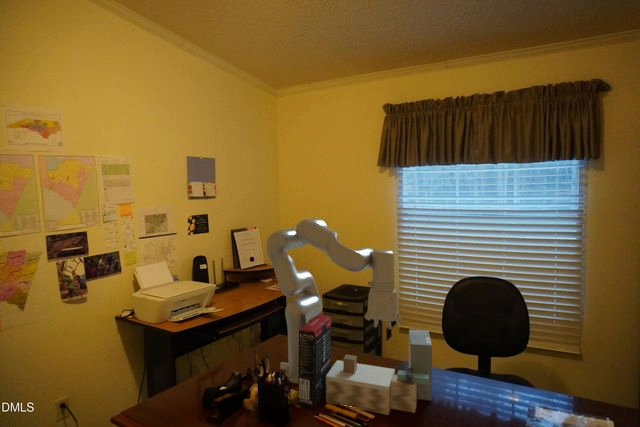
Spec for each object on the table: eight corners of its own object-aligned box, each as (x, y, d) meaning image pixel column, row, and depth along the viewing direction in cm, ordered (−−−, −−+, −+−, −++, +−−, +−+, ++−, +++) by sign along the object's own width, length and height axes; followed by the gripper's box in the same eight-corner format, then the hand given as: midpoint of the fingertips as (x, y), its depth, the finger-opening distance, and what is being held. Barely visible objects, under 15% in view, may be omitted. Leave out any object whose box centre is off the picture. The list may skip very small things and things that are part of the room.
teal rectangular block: (397, 379, 123) (397, 374, 123) (398, 375, 126) (398, 370, 126) (427, 384, 120) (427, 379, 120) (428, 380, 123) (428, 374, 123)
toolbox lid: (325, 380, 127) (325, 362, 127) (337, 364, 139) (337, 347, 139) (388, 391, 120) (388, 372, 119) (394, 373, 132) (394, 355, 131)
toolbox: (326, 402, 128) (325, 367, 127) (337, 384, 140) (337, 352, 139) (413, 419, 117) (413, 381, 117) (417, 398, 129) (417, 363, 129)
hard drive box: (432, 401, 127) (432, 346, 127) (409, 399, 129) (409, 344, 128) (428, 379, 143) (428, 329, 142) (408, 377, 144) (408, 328, 143)
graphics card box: (315, 382, 141) (315, 313, 140) (332, 385, 139) (332, 315, 138) (297, 406, 125) (296, 329, 124) (316, 410, 123) (315, 331, 122)
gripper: (357, 286, 124) (357, 339, 125) (405, 290, 119) (405, 345, 120) (362, 281, 131) (362, 331, 132) (408, 285, 126) (408, 337, 127)
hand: (383, 337), depth 126 cm, fingers open, 2 cm apart
